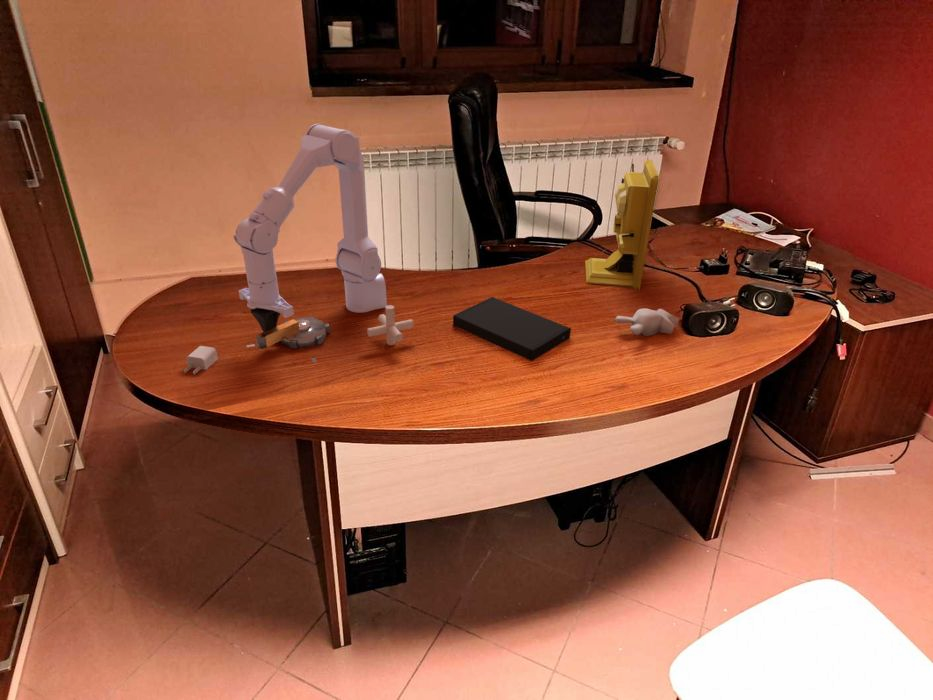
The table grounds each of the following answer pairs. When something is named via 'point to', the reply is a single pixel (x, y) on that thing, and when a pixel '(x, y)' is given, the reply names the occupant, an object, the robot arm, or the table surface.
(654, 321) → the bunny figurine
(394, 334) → the pipe connector
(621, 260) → the vintage telephone
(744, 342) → the table surface
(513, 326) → the external hard drive
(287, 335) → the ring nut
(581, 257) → the table surface
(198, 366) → the usb wall charger
